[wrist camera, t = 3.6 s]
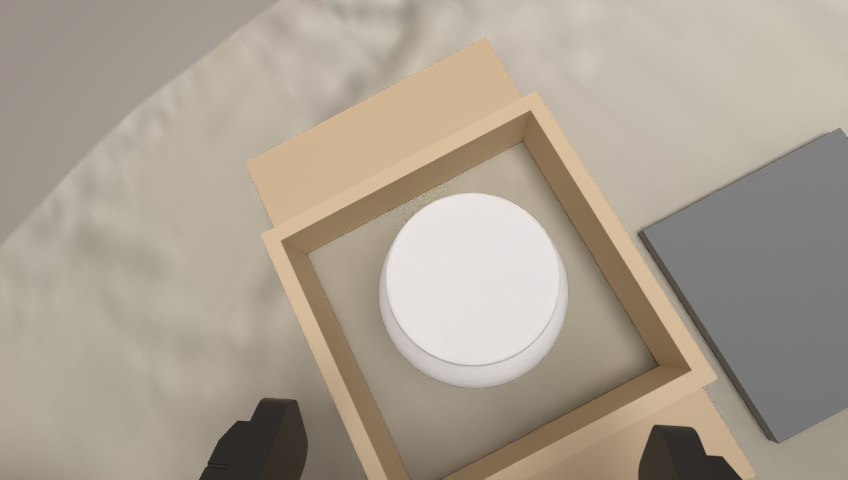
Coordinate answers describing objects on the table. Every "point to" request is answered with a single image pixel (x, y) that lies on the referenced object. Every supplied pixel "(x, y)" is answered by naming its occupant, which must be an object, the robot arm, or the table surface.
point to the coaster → (771, 282)
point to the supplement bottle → (473, 291)
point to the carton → (421, 171)
